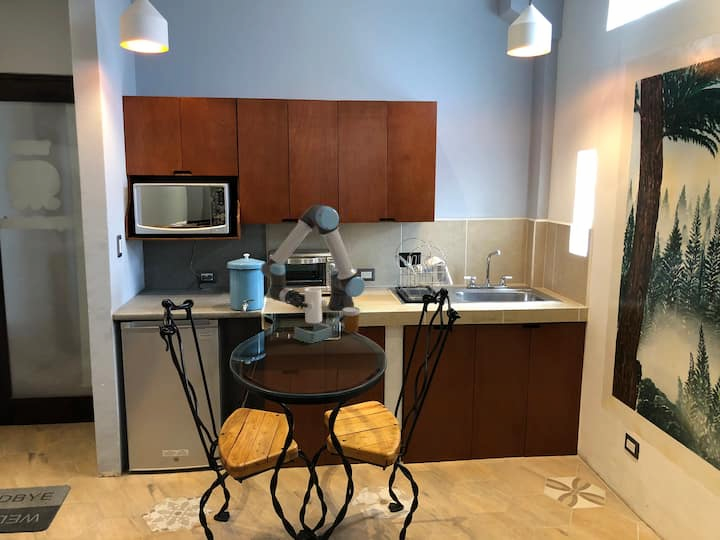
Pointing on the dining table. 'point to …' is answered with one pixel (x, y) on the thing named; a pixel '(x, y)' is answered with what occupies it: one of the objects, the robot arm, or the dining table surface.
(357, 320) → the disposable coffee cup
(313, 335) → the end holder
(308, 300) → the cup
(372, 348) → the dining table surface
